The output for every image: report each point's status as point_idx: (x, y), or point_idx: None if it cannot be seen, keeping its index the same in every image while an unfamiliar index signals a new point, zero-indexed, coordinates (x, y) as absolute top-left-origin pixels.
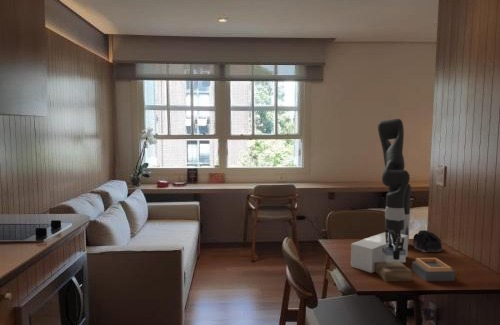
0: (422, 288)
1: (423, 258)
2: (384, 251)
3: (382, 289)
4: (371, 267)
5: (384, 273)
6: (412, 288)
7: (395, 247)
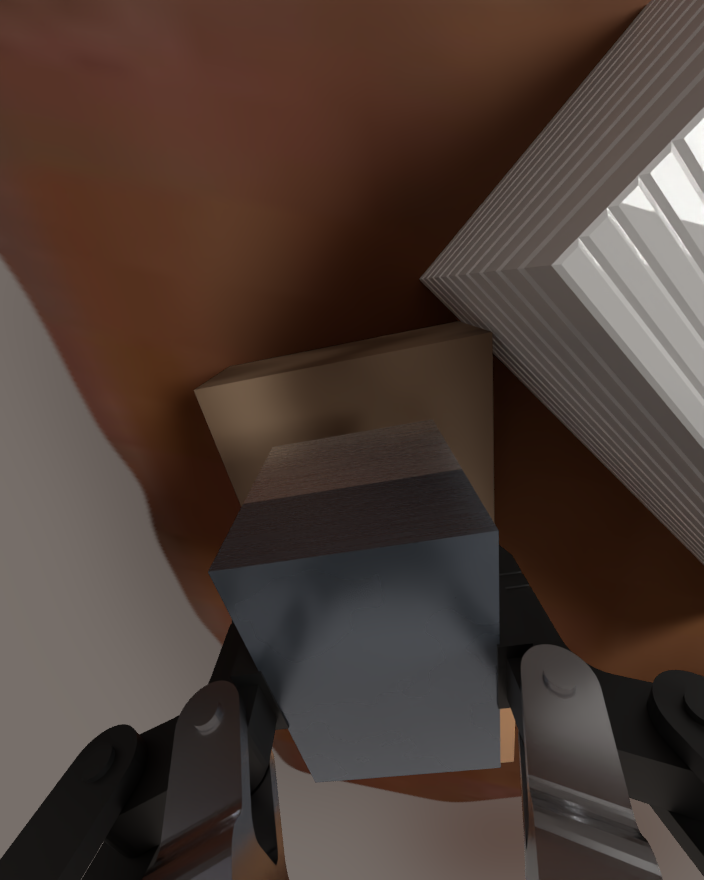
0: (185, 564)
1: (504, 713)
2: (343, 513)
3: (38, 310)
4: (435, 272)
5: (225, 378)
6: (161, 517)
7: (176, 791)
